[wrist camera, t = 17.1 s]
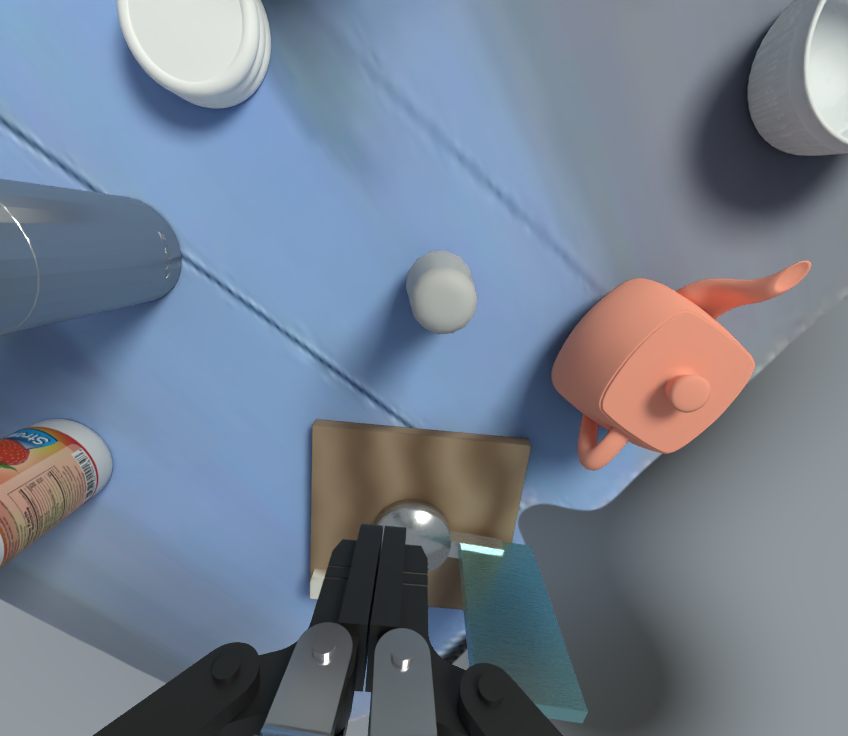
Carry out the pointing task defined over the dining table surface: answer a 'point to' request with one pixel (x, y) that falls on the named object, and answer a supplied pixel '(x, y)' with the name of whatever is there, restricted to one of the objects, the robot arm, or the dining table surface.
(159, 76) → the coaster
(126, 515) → the dining table surface
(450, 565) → the wooden cutting board
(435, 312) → the salt shaker
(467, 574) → the teal flat rectangular slab
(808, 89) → the ramekin
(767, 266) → the dining table surface
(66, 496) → the fruit juice
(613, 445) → the teapot
